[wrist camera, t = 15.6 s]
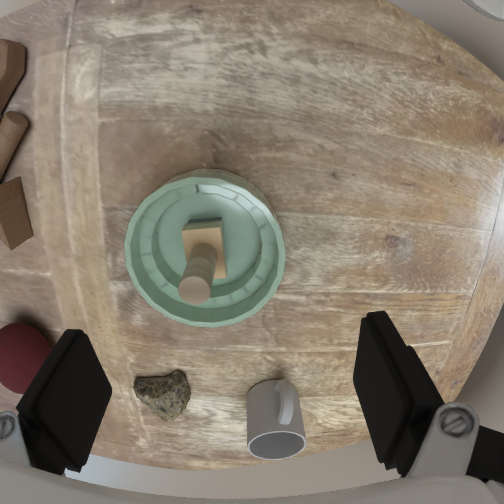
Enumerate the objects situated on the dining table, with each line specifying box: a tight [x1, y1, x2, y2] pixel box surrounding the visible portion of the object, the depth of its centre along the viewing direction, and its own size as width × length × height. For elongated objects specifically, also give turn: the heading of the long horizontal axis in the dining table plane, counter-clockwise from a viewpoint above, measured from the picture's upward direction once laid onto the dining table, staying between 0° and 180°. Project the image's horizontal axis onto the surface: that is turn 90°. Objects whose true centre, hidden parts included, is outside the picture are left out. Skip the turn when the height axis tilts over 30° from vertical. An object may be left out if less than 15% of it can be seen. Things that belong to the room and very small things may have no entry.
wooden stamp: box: [178, 217, 228, 305], centre depth 27 cm, size 5×4×10 cm
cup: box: [247, 379, 307, 460], centre depth 37 cm, size 7×10×9 cm
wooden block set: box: [0, 39, 33, 250], centre depth 25 cm, size 17×6×18 cm
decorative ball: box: [0, 323, 52, 394], centre depth 33 cm, size 10×10×10 cm
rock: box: [133, 370, 191, 421], centre depth 39 cm, size 7×8×4 cm
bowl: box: [124, 169, 286, 328], centre depth 30 cm, size 14×14×6 cm
